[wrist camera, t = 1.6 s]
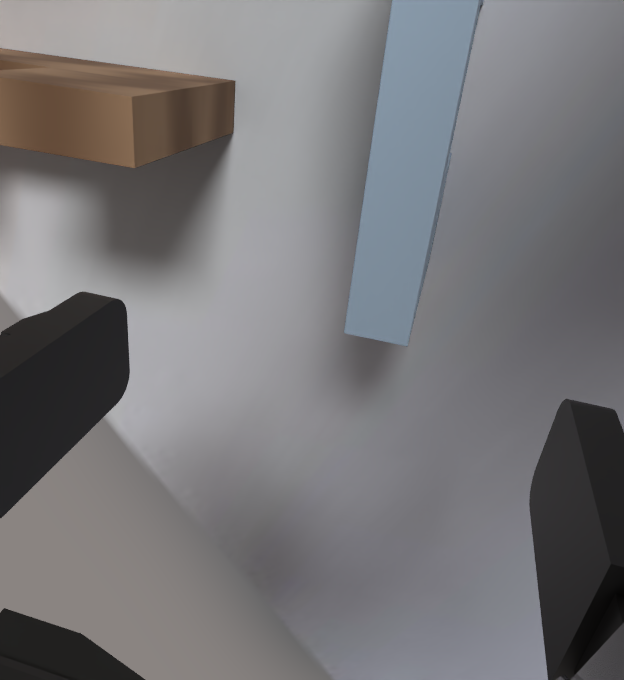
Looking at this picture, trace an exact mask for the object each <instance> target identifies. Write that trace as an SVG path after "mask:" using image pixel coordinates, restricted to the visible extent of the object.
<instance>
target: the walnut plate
mask: <svg viewBox="0 0 624 680" xmlns="http://www.w3.org/2000/svg"><path fill="white" fill-rule="evenodd" d="M234 101H235V81H233V80H226V79H218V78H211V77H204V76H197V75H189V74H182V73H175V72H168V71H161V70H153V69H146V68H139V67H132V66H124V65H117V64H110V63H103V62H96V61H88V60H81V59H74V58H67V57H59V56H52V55H45V54H38V53H31V52H23V51H16V50H9V49H2V48H0V145H4V146H9V147H15V148H21V149H27V150H33V151H38V152H44V153H50V154H56V155H62V156H67V157H73V158H79V159H85V160H91V161H96V162H102V163H108V164H114V165H120V166H125V167H131V168H136V167H139V166H142V165H145V164H148V163H150V162H153V161H156V160H159V159H161V158H164V157H167V156H170V155H173V154H175V153H178V152H181V151H184V150H186V149H189V148H192V147H195V146H198V145H200V144H203V143H206V142H209V141H211V140H214V139H217V138H220V137H223V136H225V135H228V134H231V133H233V128H234Z"/></svg>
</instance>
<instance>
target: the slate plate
mask: <svg viewBox="0 0 624 680" xmlns="http://www.w3.org/2000/svg"><path fill="white" fill-rule="evenodd" d="M483 2H484V0H392V6H391V13H390V20H389V26H388V33H387V40H386V47H385V54H384V61H383V68H382V75H381V82H380V88H379V95H378V102H377V109H376V116H375V123H374V130H373V137H372V143H371V150H370V157H369V164H368V171H367V178H366V185H365V192H364V198H363V205H362V212H361V219H360V226H359V233H358V240H357V247H356V253H355V260H354V267H353V274H352V281H351V288H350V295H349V302H348V308H347V315H346V322H345V329H344V333H346V334H351V335H356V336H360V337H365V338H370V339H374V340H379V341H384V342H389V343H393V344H398V345H403V346H408V342H409V338H410V334H411V330H412V326H413V322H414V318H415V314H416V310H417V307H418V303H419V299H420V295H421V291H422V287H423V283H424V279H425V275H426V271H427V267H428V263H429V258H430V254H431V249H432V244H433V239H434V235H435V230H436V225H437V220H438V216H439V211H440V206H441V201H442V197H443V192H444V187H445V182H446V178H447V173H448V168H449V163H450V159H451V154H452V153H450V149H451V144H452V140H453V135H454V130H455V125H456V120H457V116H458V111H459V106H460V101H461V97H462V92H463V87H464V82H465V77H466V73H467V68H468V63H469V58H470V53H471V49H472V44H473V39H474V34H475V29H476V25H477V20H478V15H479V10H480V5H483Z"/></svg>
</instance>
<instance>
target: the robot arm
mask: <svg viewBox="0 0 624 680" xmlns="http://www.w3.org/2000/svg"><path fill="white" fill-rule="evenodd" d="M129 373H130V369H129V347H128V326H127V311H126V307H125V304H124V303H123V302H122V301H121V300H119V299H115V298H111V297H106V296H102V295H97V294H93V293H88V292H79V293H77V294H75V295H74V296H72V297H70V298H69V299H67V300H66V301H64V302H62V303H61V304H59V305H58V306H56V307H54V308H53V309H51V310H49V311H47V312H43V313H40V314H37V315H34V316H31V317H28V318H24V319H22V320H20V321H19V322H17V323H16V324H14V325H12V326H10V327H9V328H7V329H5V330H4V331H2V332H1V335H0V518H2V517H3V516H4V515H5V514H6V513H7V512H8V511H9V510H10V509H11V508H12V507H13V506H14V505H15V504H16V503H17V502H18V501H19V500H20V499H21V498H22V497H23V496H24V495H25V494H26V493H27V492H28V491H29V490H30V489H31V488H32V487H33V486H34V485H35V484H36V483H37V482H38V481H39V480H40V479H41V478H42V477H43V476H44V475H45V474H46V473H47V472H48V471H49V470H50V469H51V468H52V467H53V466H54V465H55V464H56V463H57V462H58V461H59V460H60V459H61V458H62V457H63V456H64V455H65V454H66V453H67V452H68V451H69V450H71V448H73V447H74V446H75V445H76V444H77V443H78V442H79V441H80V440H81V439H82V437H84V436H85V435H86V434H87V433H88V432H89V431H90V430H91V429H92V428H93V427H94V426H95V425H96V423H98V422H99V421H100V420H101V419H102V418H103V417H104V416H105V415H106V414H107V413H108V412H109V411H110V410H111V409H112V408H113V407H114V406H115V405H116V404H117V403H118V402H119V401H120V399H121V398H122V396H123V394H124V392H125V390H126V387H127V384H128V380H129ZM530 516H531V525H532V534H533V543H534V553H535V562H536V571H537V580H538V590H539V599H540V608H541V617H542V627H543V636H544V645H545V654H546V664H547V673H548V680H624V432H623V429H622V426H621V424H620V421H619V418H618V416H617V413H616V411H615V410H613V409H610V408H606V407H601V406H597V405H592V404H588V403H583V402H578V401H574V400H569V399H565V400H564V401H563V402H562V403H561V405H560V407H559V409H558V411H557V414H556V416H555V419H554V422H553V424H552V427H551V430H550V432H549V435H548V437H547V440H546V443H545V445H544V448H543V451H542V453H541V456H540V459H539V461H538V464H537V467H536V469H535V472H534V476H533V480H532V484H531V491H530ZM0 680H145V679H143V678H142V677H141V676H139V675H138V674H137V673H135V672H134V671H132V670H131V669H130V668H128V667H127V666H125V665H124V664H123V663H121V662H120V661H118V660H117V659H116V658H114V657H113V656H112V655H110V654H109V653H107V652H106V651H105V650H103V649H102V648H101V647H99V646H98V645H96V644H95V643H94V642H92V641H91V640H89V639H88V638H86V637H85V636H84V635H82V634H81V633H77V632H74V631H71V630H68V629H65V628H62V627H59V626H56V625H53V624H50V623H47V622H44V621H41V620H38V619H35V618H32V617H29V616H26V615H23V614H20V613H17V612H14V611H11V610H8V609H5V608H4V609H3V610H2V611H1V613H0Z"/></svg>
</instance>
